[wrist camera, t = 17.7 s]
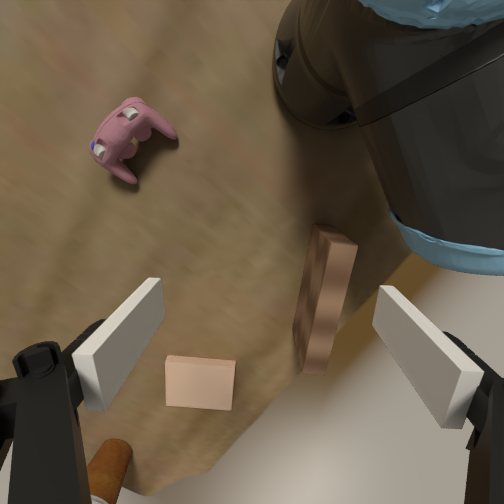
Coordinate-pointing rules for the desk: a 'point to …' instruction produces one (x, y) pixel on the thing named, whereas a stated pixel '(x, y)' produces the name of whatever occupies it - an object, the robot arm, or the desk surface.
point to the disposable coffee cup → (108, 471)
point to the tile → (199, 382)
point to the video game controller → (126, 135)
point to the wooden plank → (322, 296)
